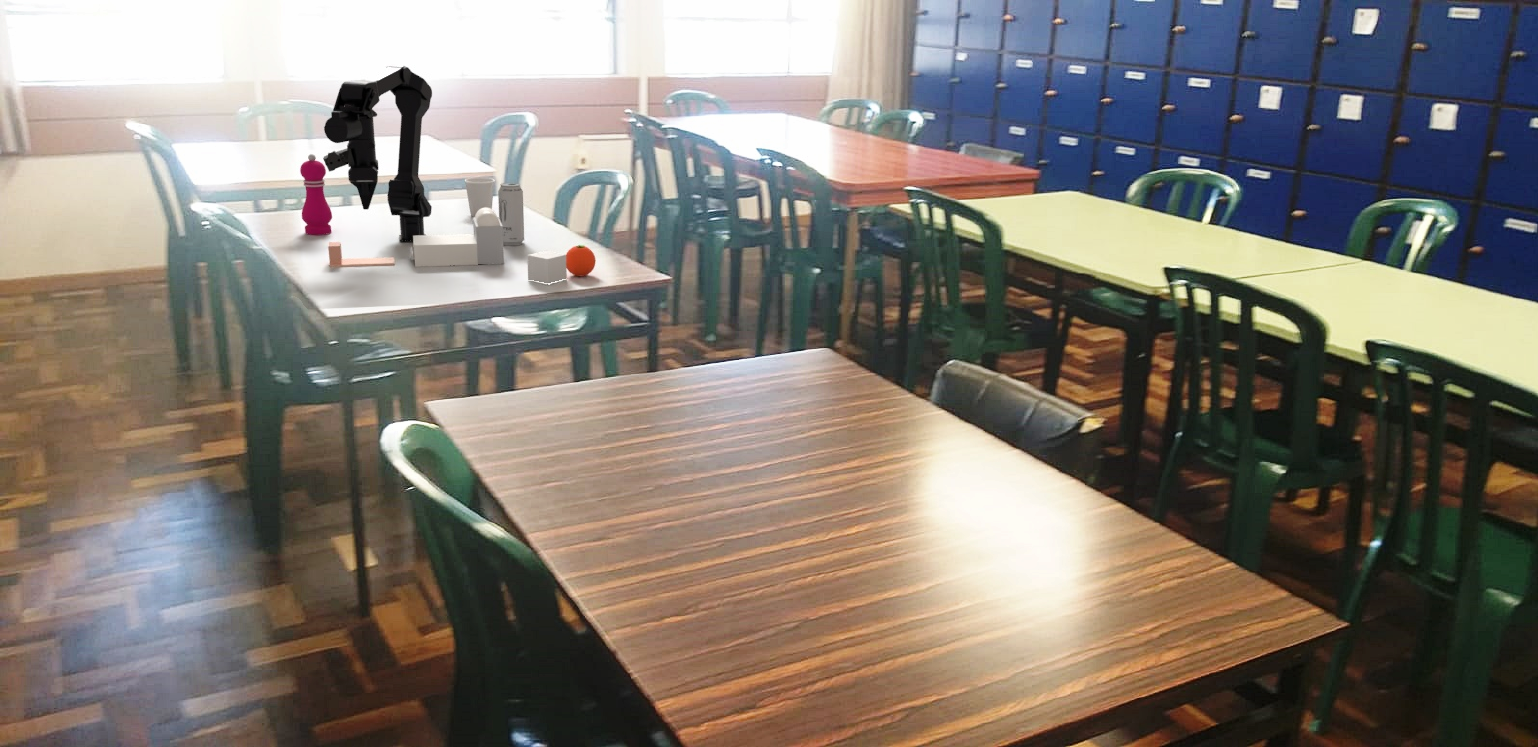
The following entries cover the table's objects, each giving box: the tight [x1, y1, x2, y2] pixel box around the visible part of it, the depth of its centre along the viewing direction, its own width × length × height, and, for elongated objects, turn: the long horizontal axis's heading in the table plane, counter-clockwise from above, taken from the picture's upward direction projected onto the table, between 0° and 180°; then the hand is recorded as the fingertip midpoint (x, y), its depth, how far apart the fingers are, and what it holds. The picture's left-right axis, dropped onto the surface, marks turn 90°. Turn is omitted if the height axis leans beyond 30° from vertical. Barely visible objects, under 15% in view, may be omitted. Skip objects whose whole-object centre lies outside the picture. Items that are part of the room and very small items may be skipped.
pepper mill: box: [300, 153, 333, 236], centre depth 292 cm, size 7×7×20 cm
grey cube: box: [527, 250, 568, 283], centre depth 256 cm, size 6×6×6 cm
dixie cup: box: [464, 176, 496, 218], centre depth 324 cm, size 8×8×10 cm
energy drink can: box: [497, 182, 525, 247], centre depth 290 cm, size 6×6×15 cm
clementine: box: [565, 244, 596, 277], centre depth 262 cm, size 8×7×7 cm
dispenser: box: [409, 207, 505, 268], centre depth 271 cm, size 11×21×12 cm, turn 107°
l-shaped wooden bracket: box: [327, 241, 396, 268], centre depth 265 cm, size 6×14×5 cm, turn 108°
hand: (366, 205), depth 269 cm, fingers open, 9 cm apart
